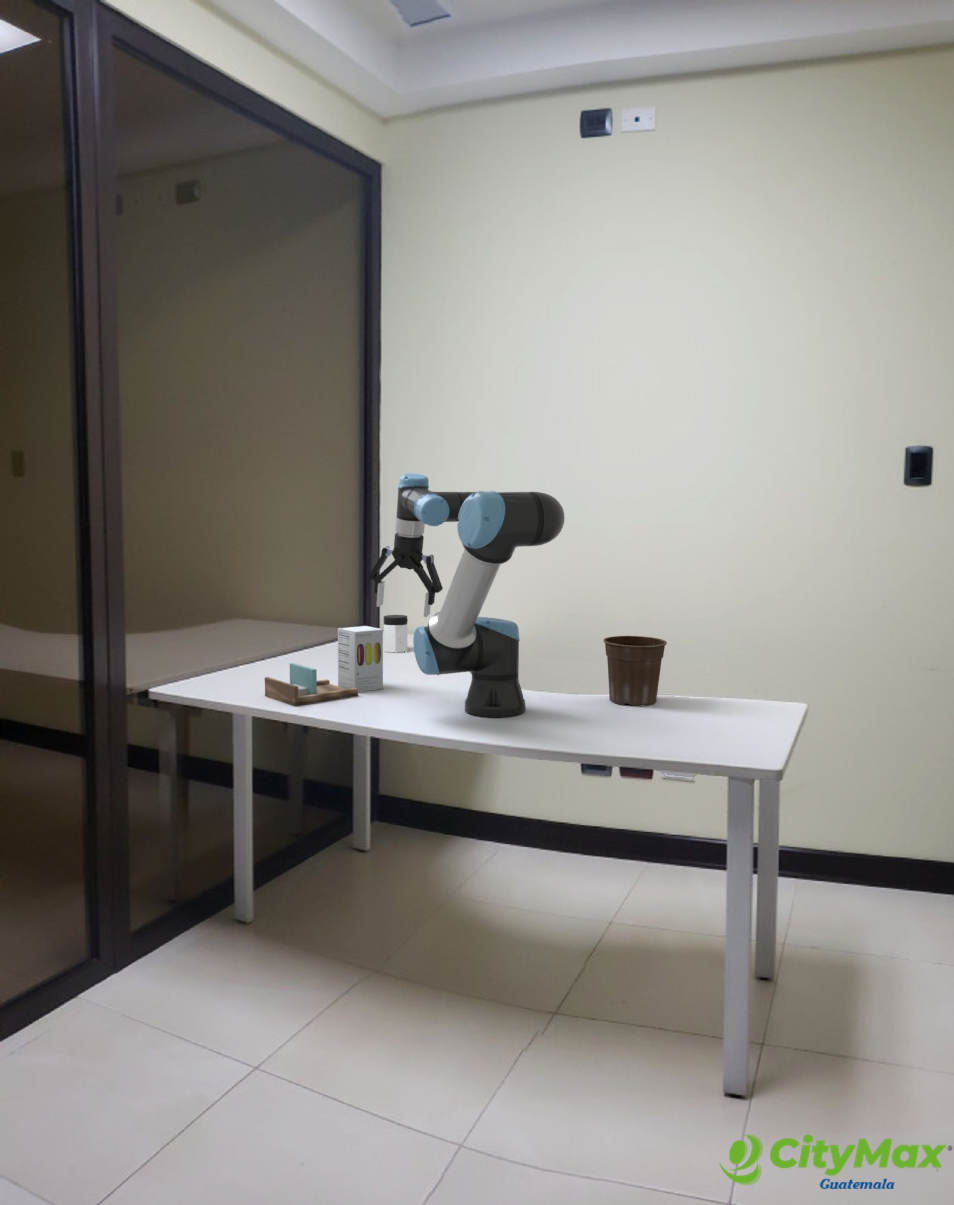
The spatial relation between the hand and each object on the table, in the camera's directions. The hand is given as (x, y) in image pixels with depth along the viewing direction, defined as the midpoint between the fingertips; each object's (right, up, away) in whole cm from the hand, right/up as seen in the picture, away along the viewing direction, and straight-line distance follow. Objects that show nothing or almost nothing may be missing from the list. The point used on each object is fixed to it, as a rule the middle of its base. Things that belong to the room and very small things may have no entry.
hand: (403, 610), depth 252 cm
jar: (-8, -15, +71) cm, 73 cm away
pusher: (-27, -22, -3) cm, 35 cm away
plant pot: (+61, -24, -6) cm, 65 cm away
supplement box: (-13, -22, +10) cm, 27 cm away
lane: (-24, -23, 0) cm, 33 cm away
